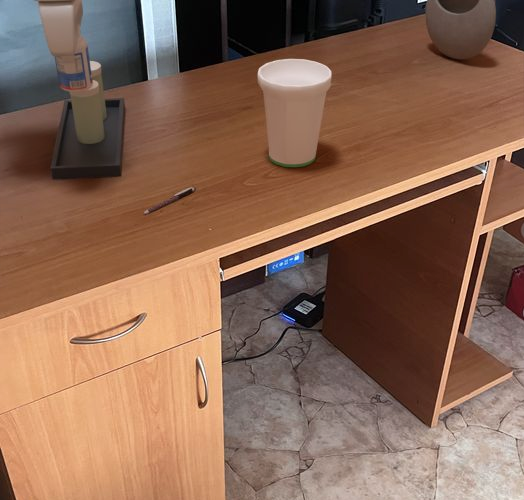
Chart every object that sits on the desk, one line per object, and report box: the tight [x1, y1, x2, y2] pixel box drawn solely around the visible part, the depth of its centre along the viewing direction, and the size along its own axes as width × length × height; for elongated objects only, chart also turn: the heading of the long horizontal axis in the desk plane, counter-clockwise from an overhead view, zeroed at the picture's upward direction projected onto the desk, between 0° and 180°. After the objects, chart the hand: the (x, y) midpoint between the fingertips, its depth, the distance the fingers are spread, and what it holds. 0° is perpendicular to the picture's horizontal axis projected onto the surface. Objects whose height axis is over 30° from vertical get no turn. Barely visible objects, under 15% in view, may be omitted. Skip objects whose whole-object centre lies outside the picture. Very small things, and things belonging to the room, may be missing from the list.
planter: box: [425, 0, 497, 61], centre depth 172 cm, size 18×7×19 cm, turn 39°
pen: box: [143, 186, 196, 215], centre depth 128 cm, size 11×1×1 cm, turn 136°
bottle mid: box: [68, 80, 105, 144], centre depth 141 cm, size 5×5×10 cm
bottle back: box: [90, 60, 107, 120], centre depth 148 cm, size 5×5×10 cm
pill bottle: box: [53, 25, 93, 92], centre depth 126 cm, size 6×5×10 cm
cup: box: [257, 58, 333, 168], centre depth 136 cm, size 12×12×15 cm
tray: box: [49, 97, 126, 180], centre depth 144 cm, size 12×29×2 cm, turn 6°
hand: (72, 64), depth 126 cm, fingers closed on pill bottle, 5 cm apart
